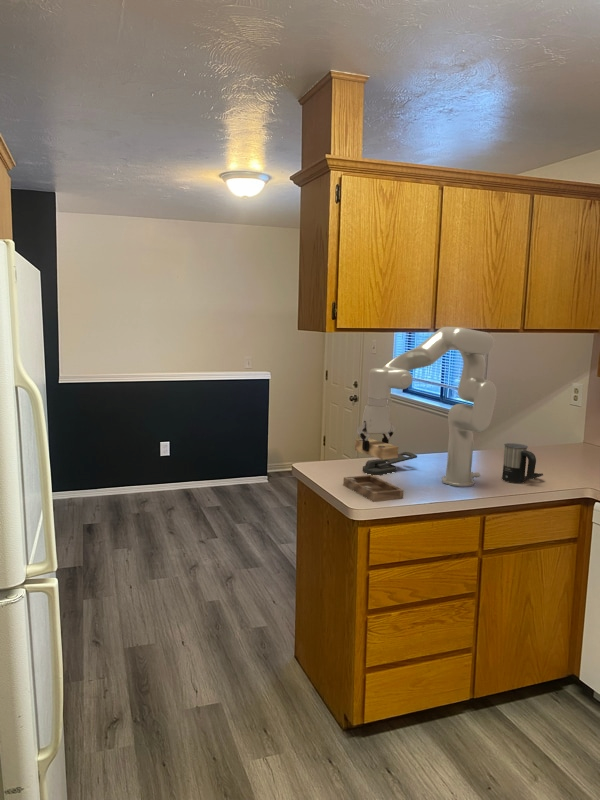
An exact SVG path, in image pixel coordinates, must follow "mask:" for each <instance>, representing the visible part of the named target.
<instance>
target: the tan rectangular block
mask: <svg viewBox="0 0 600 800" xmlns="http://www.w3.org/2000/svg"><path fill="white" fill-rule="evenodd" d="M368 441H369V451H368V452H366V451H364V450H363V448H362V442H363V439H361V438H360V439H355V441H354V451H355V452H359V453H362V454H365V455H368V456H371V457H374V458H377V459H382V460H384V459H392V458H398V454H399V446H398V445H394V444H391V443H384V442H382V440H377V439H373V438H370V437H369V439H368Z"/></svg>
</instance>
